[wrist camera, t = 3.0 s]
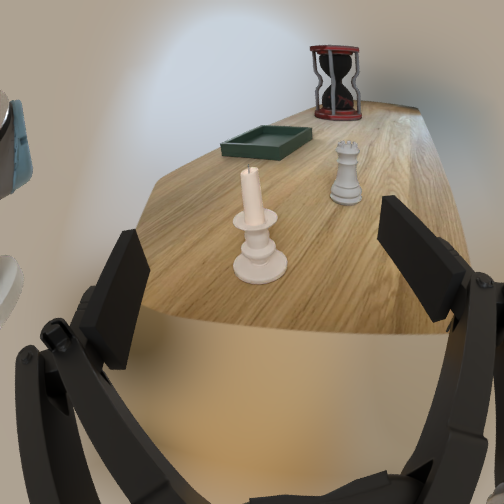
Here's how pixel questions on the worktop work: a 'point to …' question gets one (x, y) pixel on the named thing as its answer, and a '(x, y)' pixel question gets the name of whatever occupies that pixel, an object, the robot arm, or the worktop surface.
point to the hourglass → (336, 82)
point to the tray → (267, 142)
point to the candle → (257, 235)
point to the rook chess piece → (346, 175)
